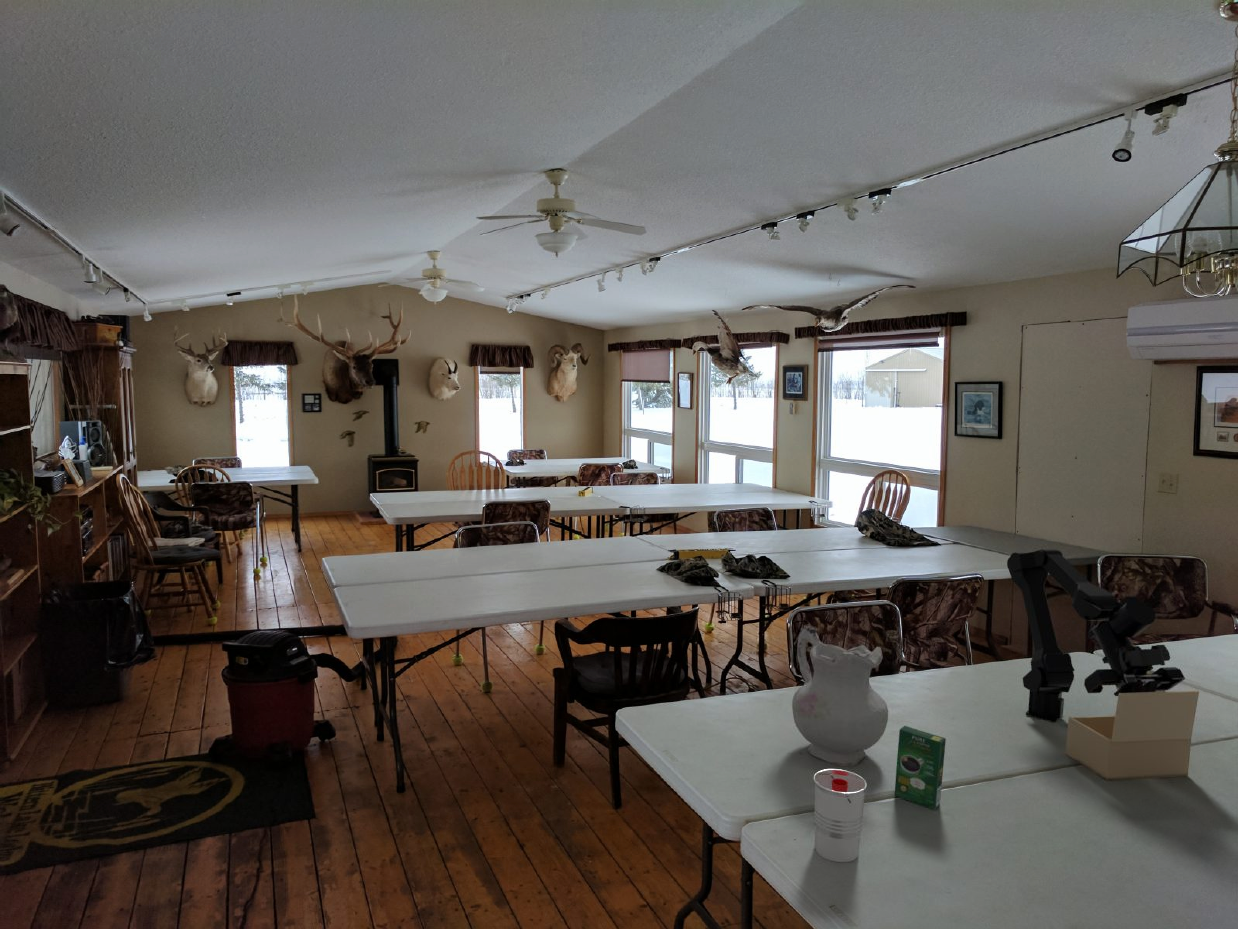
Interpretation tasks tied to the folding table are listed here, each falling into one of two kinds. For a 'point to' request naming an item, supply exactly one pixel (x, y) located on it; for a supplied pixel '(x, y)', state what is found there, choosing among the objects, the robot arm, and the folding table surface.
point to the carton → (1124, 751)
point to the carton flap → (1154, 716)
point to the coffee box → (919, 767)
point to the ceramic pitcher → (838, 700)
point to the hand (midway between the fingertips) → (1153, 721)
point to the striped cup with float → (838, 814)
